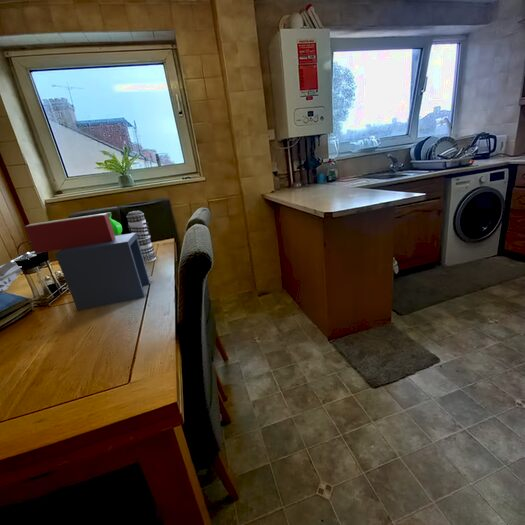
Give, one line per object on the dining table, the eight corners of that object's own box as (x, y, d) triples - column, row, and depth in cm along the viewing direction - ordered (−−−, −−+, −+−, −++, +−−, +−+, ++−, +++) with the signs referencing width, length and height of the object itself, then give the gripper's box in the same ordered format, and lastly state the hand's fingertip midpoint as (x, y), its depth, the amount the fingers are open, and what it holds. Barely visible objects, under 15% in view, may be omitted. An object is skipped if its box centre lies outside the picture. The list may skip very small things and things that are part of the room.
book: (35, 253, 91) (23, 226, 88) (41, 250, 95) (30, 223, 92) (112, 241, 95) (104, 214, 92) (115, 238, 99) (107, 212, 96)
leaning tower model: (150, 256, 148) (137, 209, 139) (160, 258, 142) (148, 209, 134) (134, 262, 141) (120, 213, 132) (144, 264, 135) (130, 213, 127)
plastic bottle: (114, 257, 154) (100, 212, 146) (133, 254, 155) (120, 210, 146) (106, 263, 145) (90, 216, 136) (127, 260, 145) (112, 213, 137)
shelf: (77, 311, 95) (54, 253, 88) (91, 294, 108) (72, 242, 101) (144, 297, 99) (127, 241, 92) (150, 282, 112) (135, 232, 105)
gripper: (-44, 289, 82) (-9, 260, 82) (0, 267, 101) (29, 243, 101) (-23, 303, 85) (11, 275, 84) (17, 279, 104) (45, 255, 103)
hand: (21, 257), depth 93 cm, fingers open, 8 cm apart
